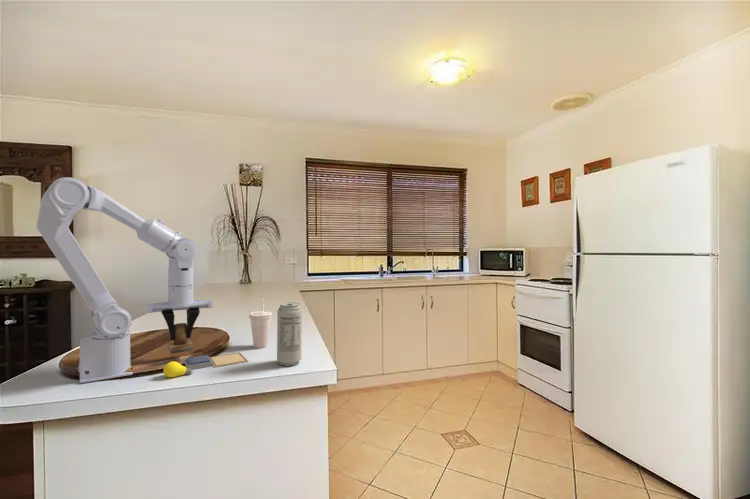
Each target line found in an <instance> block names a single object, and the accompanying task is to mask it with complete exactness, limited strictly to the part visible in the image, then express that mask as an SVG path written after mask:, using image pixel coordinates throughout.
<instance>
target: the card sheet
mask: <svg viewBox="0 0 750 499" xmlns="http://www.w3.org/2000/svg"><path fill="white" fill-rule="evenodd" d="M209 358H210V359H211V361H212V362H213V366H212V367H214V368H220V367H225V366H230V365H231V366H232V365H237V364H244V363H248V362H249V360H248V358H246V357H245V356H244V355H243V354H242V353H241V352H239V351H238V352H234V353H233V352H232V353H227V354H222V355H216V356H209Z"/></svg>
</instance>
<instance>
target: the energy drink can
mask: <svg viewBox="0 0 750 499" xmlns="http://www.w3.org/2000/svg"><path fill="white" fill-rule="evenodd" d="M276 312H277V319H276V320H277V321H276V322H277V325H276V328H277V330H276V332H277V333H276V334H277V336H276V361H277V362H278V364H279V365H280V366H282V365H286V366H285V367H288V366H287V365H294V364H297V363H298V364H299V363H300V361H301V360H302V342H303V341H302V340H303V339H302V335H303V334H302V332H303V330H302V329H303V328H302V327H303V326H302V324H303V310H302V308H301V306H300V303H299V302H281V303H280V304H279V307H278V309H277V311H276ZM298 364H297V365H298ZM294 366H295V365H294Z"/></svg>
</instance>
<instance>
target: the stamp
mask: <svg viewBox="0 0 750 499" xmlns="http://www.w3.org/2000/svg"><path fill="white" fill-rule="evenodd" d="M193 350H194V343H193V342H192V340H191V338H187V322H180V323H179V322H178V323H174V340H173V341H169V342H168V351H169V353H170V354H172V355H173V354H177V353H183V352H188V351H193Z"/></svg>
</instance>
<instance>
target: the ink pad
mask: <svg viewBox="0 0 750 499" xmlns="http://www.w3.org/2000/svg"><path fill="white" fill-rule="evenodd" d="M209 357H210V355H207V354H204V355H197V356H193V357H191V356H190V357H187V358H185V359H183V360H184V361H183V363H184V366H185V367H186V368H189V369H192V371H193V370H197V369H205V368H209V367H214V366H213V362H212V361H211V359H210V358H209Z"/></svg>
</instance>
